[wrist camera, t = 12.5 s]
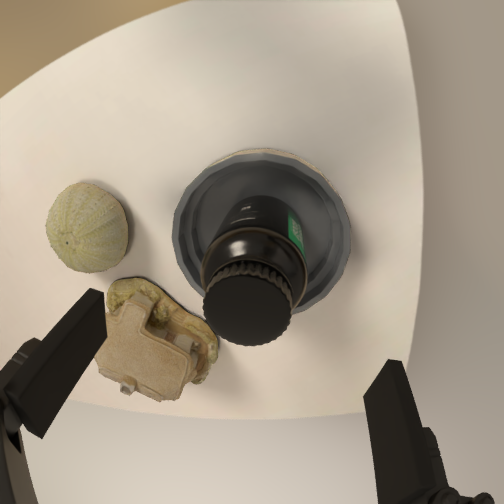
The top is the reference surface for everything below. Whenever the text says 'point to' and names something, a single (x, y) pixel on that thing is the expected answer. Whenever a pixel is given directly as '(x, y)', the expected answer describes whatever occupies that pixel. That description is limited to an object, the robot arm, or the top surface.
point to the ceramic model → (153, 342)
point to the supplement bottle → (254, 271)
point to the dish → (271, 184)
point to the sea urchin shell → (87, 228)
